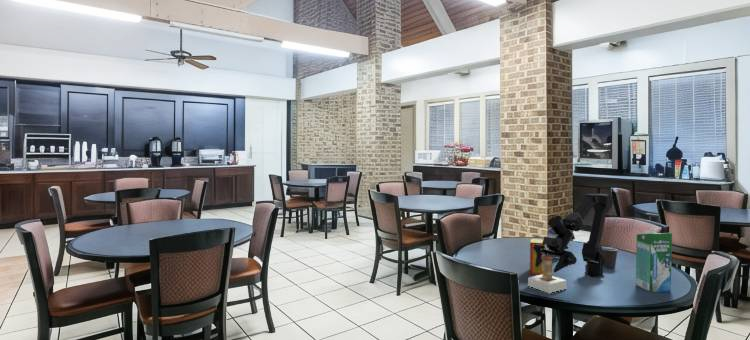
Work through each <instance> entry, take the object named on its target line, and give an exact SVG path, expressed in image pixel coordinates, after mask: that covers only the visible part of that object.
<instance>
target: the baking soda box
mask: <svg viewBox="0 0 750 340" xmlns="http://www.w3.org/2000/svg"><path fill="white" fill-rule="evenodd" d="M543 239H544V238H542V239H541V238H531V239H530V241H529V242H530V246H529V254H530V255H529V258H530V259H529V265H530V266H529V270H530V272H529V274H530V275H532V274H538V275H541V274H542V263H541V264H540V265H539V266H538V267H536V266H535V265H536V258H537V253H536V252H535V250H534V249H533V247H534V245H535V244H539V245H543V246H544V247H545V248H546V244H543V243H542V242H543Z"/></svg>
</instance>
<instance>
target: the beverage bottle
mask: <svg viewBox="0 0 750 340" xmlns="http://www.w3.org/2000/svg"><path fill="white" fill-rule="evenodd" d="M547 235H548V236H547V237H550V238H556V236H557V234H555V233H554V232H553V231H552V229H551V228H550V227H549V229H548V231H547ZM547 249H548V250H549V248H547ZM547 255H550V254H547ZM552 256H553V259H559V257H558V256H554V255H552Z"/></svg>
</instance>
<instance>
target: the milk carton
mask: <svg viewBox="0 0 750 340" xmlns="http://www.w3.org/2000/svg"><path fill="white" fill-rule="evenodd" d="M672 245H673V233H672V232H663V233H662V232H661V233H660V232H659V233H657V230H647V231H646V230H645V233H638V234H636V254H635V255H636V263H635V286H637V287H639V288H641V289H643V290H644V291H645V290H646V291H647V292H651V293H657V292H660V293H664V292H665V293H666V292H671V291H672V257H673V256H672V253H673V250H672V247H673V246H672Z"/></svg>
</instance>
